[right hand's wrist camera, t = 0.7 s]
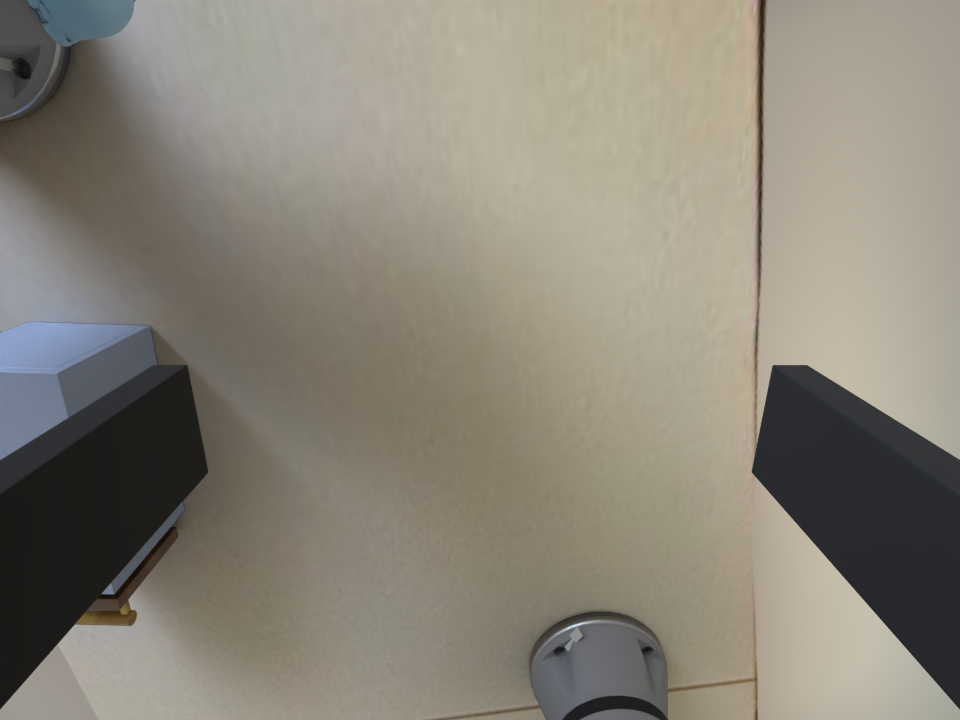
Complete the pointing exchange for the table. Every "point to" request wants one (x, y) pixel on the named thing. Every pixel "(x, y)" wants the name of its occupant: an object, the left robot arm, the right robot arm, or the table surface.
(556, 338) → the table surface
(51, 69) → the left robot arm
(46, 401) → the cabinet
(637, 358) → the table surface
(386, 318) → the table surface
